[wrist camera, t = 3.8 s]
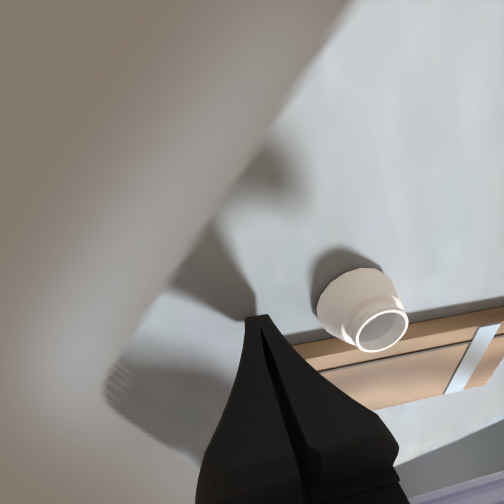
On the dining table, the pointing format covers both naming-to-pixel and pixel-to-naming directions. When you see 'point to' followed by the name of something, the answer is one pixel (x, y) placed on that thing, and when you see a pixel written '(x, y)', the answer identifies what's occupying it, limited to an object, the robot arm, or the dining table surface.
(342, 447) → the robot arm
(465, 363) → the board
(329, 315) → the lidless jar
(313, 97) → the dining table surface
